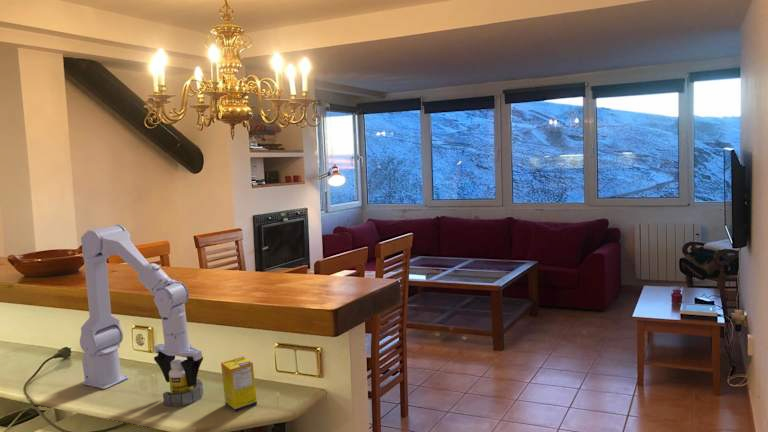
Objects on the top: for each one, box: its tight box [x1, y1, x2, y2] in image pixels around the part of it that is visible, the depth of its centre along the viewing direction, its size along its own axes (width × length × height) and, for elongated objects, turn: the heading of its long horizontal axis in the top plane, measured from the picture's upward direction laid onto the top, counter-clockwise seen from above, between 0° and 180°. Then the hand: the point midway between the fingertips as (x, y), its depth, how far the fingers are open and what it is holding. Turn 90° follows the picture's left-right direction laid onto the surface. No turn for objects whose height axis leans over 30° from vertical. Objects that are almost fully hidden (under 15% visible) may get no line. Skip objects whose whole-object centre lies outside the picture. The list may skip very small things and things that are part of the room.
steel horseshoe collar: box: [162, 378, 204, 408], centre depth 158 cm, size 6×10×3 cm, turn 151°
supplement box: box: [220, 356, 258, 413], centre depth 152 cm, size 6×6×11 cm
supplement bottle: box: [169, 357, 193, 393], centre depth 158 cm, size 5×5×10 cm
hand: (181, 383), depth 159 cm, fingers open, 7 cm apart
